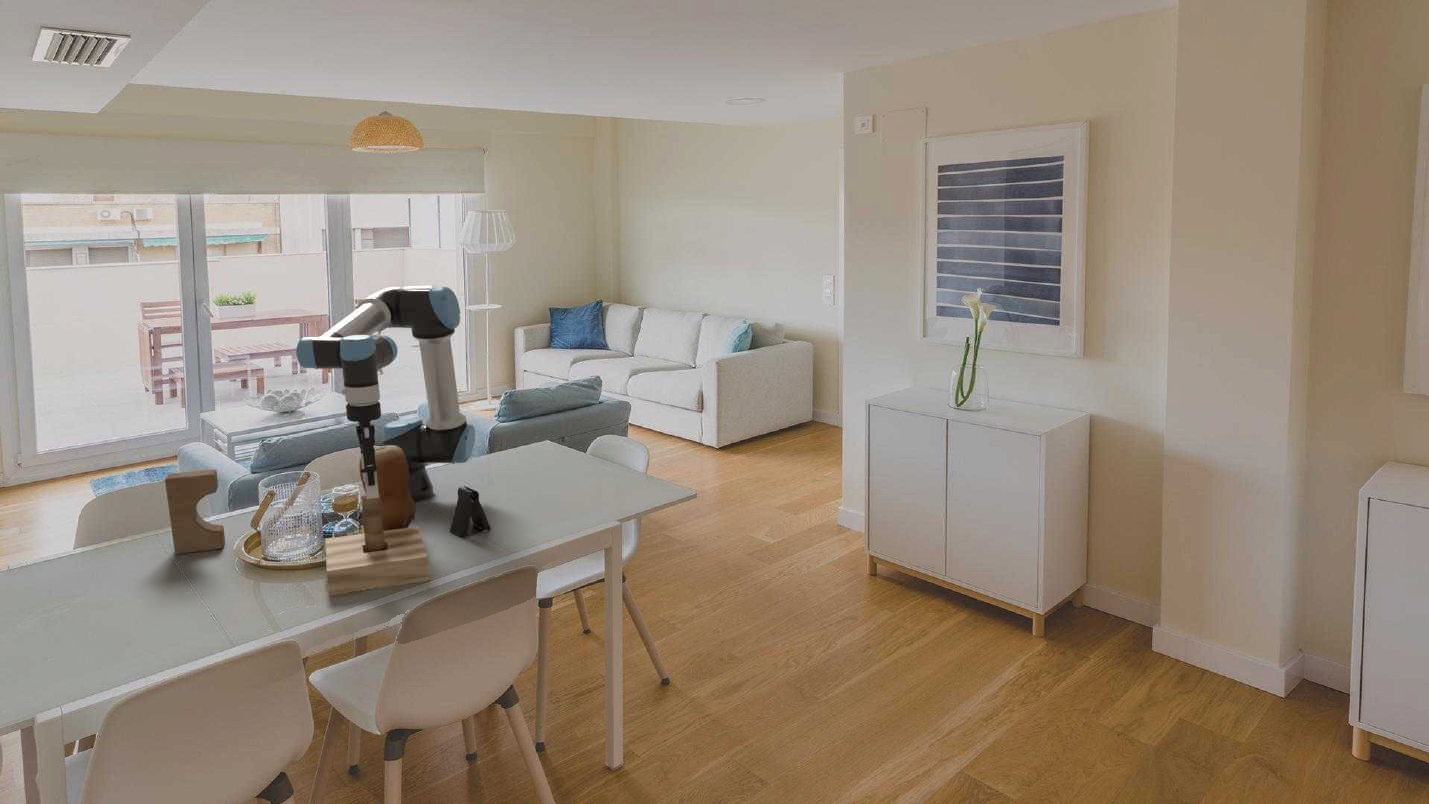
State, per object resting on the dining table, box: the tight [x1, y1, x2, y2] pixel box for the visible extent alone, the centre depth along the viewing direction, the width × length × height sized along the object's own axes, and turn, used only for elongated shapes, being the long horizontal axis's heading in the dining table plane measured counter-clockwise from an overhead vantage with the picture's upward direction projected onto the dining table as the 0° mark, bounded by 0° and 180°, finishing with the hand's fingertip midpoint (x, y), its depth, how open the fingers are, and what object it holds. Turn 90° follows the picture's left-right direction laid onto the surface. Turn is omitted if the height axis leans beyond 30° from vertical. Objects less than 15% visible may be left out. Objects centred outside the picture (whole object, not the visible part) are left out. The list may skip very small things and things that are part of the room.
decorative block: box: [164, 468, 226, 555], centre depth 239 cm, size 11×6×20 cm, turn 111°
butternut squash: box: [358, 445, 417, 531], centre depth 246 cm, size 14×13×25 cm
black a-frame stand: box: [449, 485, 492, 539], centre depth 252 cm, size 9×6×12 cm, turn 135°
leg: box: [360, 493, 385, 553], centre depth 224 cm, size 4×4×18 cm
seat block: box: [324, 526, 430, 597], centre depth 226 cm, size 22×22×6 cm
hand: (370, 489), depth 222 cm, fingers open, 13 cm apart
